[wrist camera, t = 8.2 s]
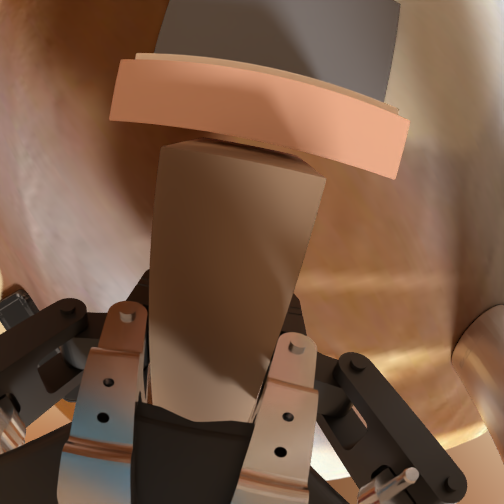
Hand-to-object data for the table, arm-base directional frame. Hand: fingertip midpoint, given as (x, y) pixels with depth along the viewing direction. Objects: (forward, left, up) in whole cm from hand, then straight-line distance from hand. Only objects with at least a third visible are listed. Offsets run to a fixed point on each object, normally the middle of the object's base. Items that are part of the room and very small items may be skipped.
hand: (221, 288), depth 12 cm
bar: (0, 0, 0) cm, 0 cm away
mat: (0, -14, -7) cm, 16 cm away
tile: (0, -7, -7) cm, 10 cm away
